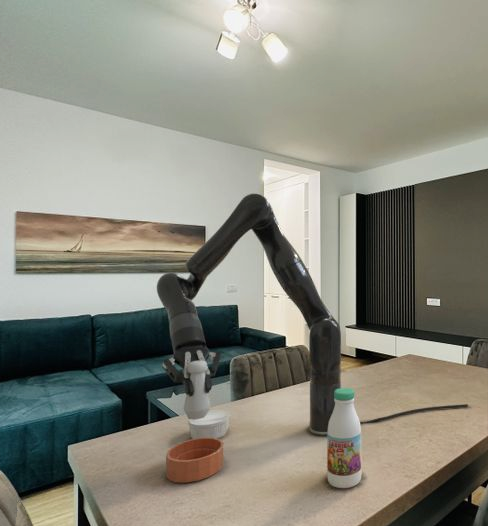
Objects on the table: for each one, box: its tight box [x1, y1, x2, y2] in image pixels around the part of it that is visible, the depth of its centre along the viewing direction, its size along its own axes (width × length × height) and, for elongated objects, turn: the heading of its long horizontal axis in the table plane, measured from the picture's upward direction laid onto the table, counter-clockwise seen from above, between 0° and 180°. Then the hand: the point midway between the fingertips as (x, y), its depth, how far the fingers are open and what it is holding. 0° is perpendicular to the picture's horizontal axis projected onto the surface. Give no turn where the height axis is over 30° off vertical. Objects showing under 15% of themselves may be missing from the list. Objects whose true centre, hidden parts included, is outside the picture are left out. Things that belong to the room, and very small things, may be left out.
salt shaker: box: [183, 361, 212, 420], centre depth 89 cm, size 6×6×13 cm
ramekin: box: [187, 409, 231, 439], centre depth 108 cm, size 11×11×5 cm
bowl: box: [165, 437, 225, 483], centre depth 89 cm, size 12×12×5 cm
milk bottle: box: [326, 387, 363, 489], centre depth 85 cm, size 8×8×20 cm
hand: (199, 392), depth 88 cm, fingers closed on salt shaker, 3 cm apart
